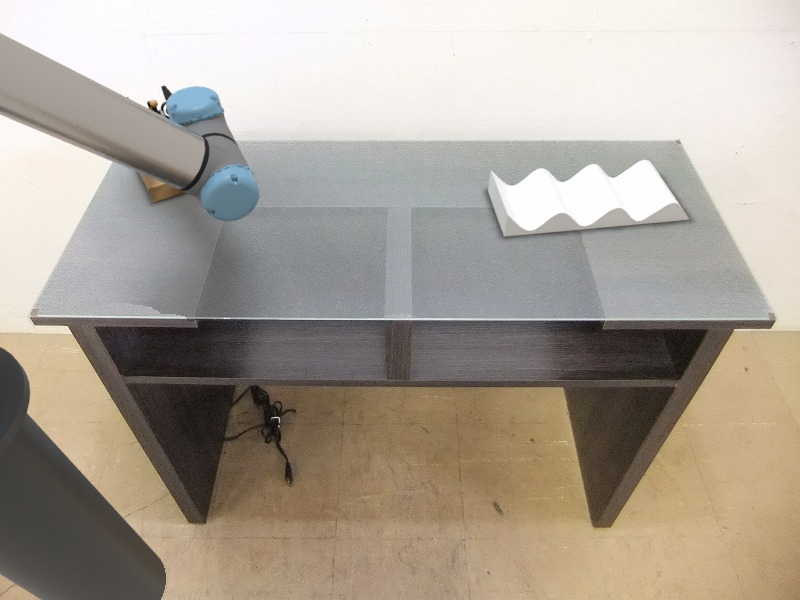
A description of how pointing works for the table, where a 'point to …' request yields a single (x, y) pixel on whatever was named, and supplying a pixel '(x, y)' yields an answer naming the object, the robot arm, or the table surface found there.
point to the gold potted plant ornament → (153, 107)
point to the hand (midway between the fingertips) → (146, 98)
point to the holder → (159, 189)
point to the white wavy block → (583, 200)
